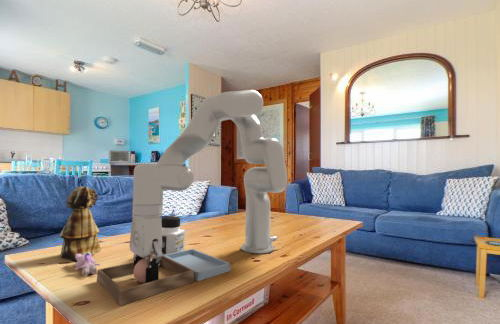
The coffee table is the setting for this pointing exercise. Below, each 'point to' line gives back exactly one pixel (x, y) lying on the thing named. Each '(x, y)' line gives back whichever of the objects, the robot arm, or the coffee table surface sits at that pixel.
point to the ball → (140, 270)
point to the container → (172, 235)
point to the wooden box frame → (147, 289)
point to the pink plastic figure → (86, 264)
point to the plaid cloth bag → (80, 225)
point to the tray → (200, 263)
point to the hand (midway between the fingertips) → (145, 277)
